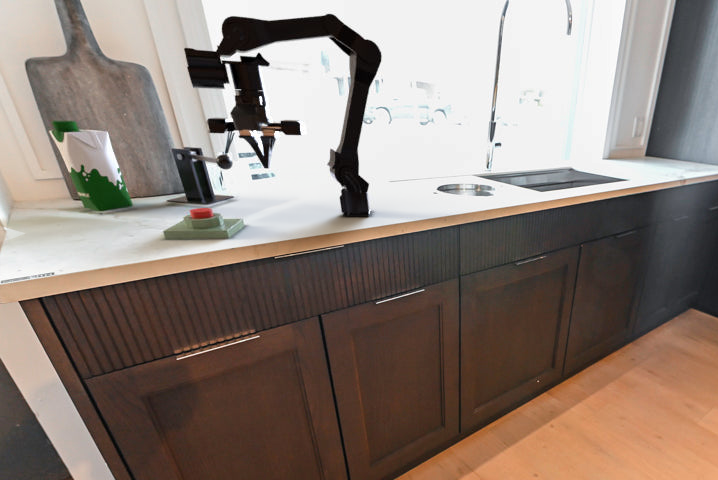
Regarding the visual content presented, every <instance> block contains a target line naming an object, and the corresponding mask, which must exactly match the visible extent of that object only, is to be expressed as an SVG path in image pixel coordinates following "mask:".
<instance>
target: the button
mask: <svg viewBox="0 0 718 480" xmlns="http://www.w3.org/2000/svg"><path fill="white" fill-rule="evenodd" d="M213 213H214V212H213V209H212V208H210V207H198V208H193V209H190V210H189V215H191V217H192V219H205V218H211V217H214V215H213Z"/></svg>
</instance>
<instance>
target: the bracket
mask: <svg viewBox="0 0 718 480" xmlns="http://www.w3.org/2000/svg"><path fill="white" fill-rule="evenodd" d="M190 150H191V151H196V155H200V156H204V153H203V149H202V147H191V146H183V148H175V147H174V148H171V153H172V156H173V160H174V163H175V166H176V170H177V172H178V175H179V178H180V182H181V185H182V188H183V192H184V195H183V196H179V197H174V198H170V199H166V202H167V203H179V204H180V203H181V204H191V205H192V204H193V205H207V206H208V205H213V204H216V203H219V202H223V201H227V200H230V199H233V198H235V196H234V195H223V194H215V192H214V188H213V186H212V185H213V184H212V182H211V178H210V175H209V170H208V166H207V163H206V161H202V160H198V161H194V162H193V160H192V156H191V153H190Z"/></svg>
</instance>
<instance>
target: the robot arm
mask: <svg viewBox="0 0 718 480" xmlns="http://www.w3.org/2000/svg"><path fill="white" fill-rule="evenodd" d="M221 35H222V38H221V41H220V43H219V45H216V50H215V51H214V50H204V49H203V50H202V49H197V48H196V49H195V48H192V47H184V48H183V50H184V54H185V59H186V64H187V66H186V68H187V72H188V76H189V79H190V83H191V86H192V88H193V89H211V90H212V89H213V90H226V87H225V85H230V84H231V83H230V79H229V75H228V71H227V66H226V65H229V69H230V73H231V78H232V83H233V87H234V92H235V95H234V101H235V105H234V106H233V107H232V109H231V111H230V113H229V114H230V117H210V118H208V119H207V120H206V123H205V124H206V128H207V132H208V134H225V133H226V132H233V133H234V132H235V131H238V134H239V135H238V138H239V139H243V140H245V141H246V142H247V144H248V145H249V146H250V147H251V148H252V150H253V152H254V153H255V155H256V156H257V158H258V160H259V162H260V164H261V165H262V167H263V169H267V170H268V169H270V167H271V162H272V156H273V155H272V153H273V149H274V147H275V143H276V140H277V139H280V138H281V134H280V133H283V134H284V135H285V136H304V135H307V129H306V125H305V122H303V120H301V119H282V120H280V122H273V118H272V117H273V116H271V112H270V108H269V104H268V103H269V98H268V96H267V93H266V88H265V83H264V78H263V73H262V72H263V71H262V67H263V68H264V67H265V68H269V67H270V66H271V63H270V62H269V61H267V59H266V58H264V57H263V55H262V53H261V52H257V53H256V56H248V55H239V60H226V59H228V58H229V59H230V58H231V57H232V56H234V55H235V54H236V53H239V54H247V53H250V52H253V51H256V50H259V49H261V48H266V47H268V46H269V45H273V44H277V43H286V42H294V41H304V40H315V39H323V38H328V39H329V40H330V41H332V42H333V44H335V46H337V47H338V48H339V50H341V51H342V52H343V53H344V54H345V55H347V56H348V57H349V63H348V64H349V65H348V66H349V68H348V69H349V77H350V85H349V90H348V96H347V101H346V107H345V112H344V118H343V124H342V130H341V135H340V140H339V144H338V146H337V148H336V150H335V149H333V148H330V149H329V160H328V162H327V166H328V167H329V173H330V176H331V177H332V178H333V180H335V181H336V182H337V183H338V184H339V185H340V186H341V190H340V195H339V203H340V204H339V205H340V211H341V213H342V217H370V215H371V212H372V209H371V208H370V200H369V187H370V183H369V182H368V181H367V180H365V179H364V177H362V176H361V175H360V174H359V173H360V160H359V144H360V138H361V133H362V129H363V123H364V117H365V113H366V107H367V102H368V96H369V91H370V87H371V85H372V84H373V81H374V80H375V78H376V76H377V73H378V71H379V68H380V66H381V64H382V57H383V56H382V51H381V50H380V47H379V46H378V45H377V43H376V42H375V41H373V40H371V39H365V38H364V37H363V36H362V35H361V34H360V33H359V32H358V31H355V30H354V29H353V28H351V27H350V26H349V25H347V24H345V23H344V22H343V21H342V20H340V19H339V17H337V16H336V15H335V14H333V13H326V14H324V15H317V16H316V15H315V16H314V15H313V16H307V17H306V16H305V17H304V16H303V17H293V18H284V19H283V18H282V19H272V20H269V19H259V18H254V17H247V16H239V15H238V16H236V15H230V16H227V17H226V18H225V19H224V20H223V22H222V23H221ZM221 58H225V60H224V59H221ZM257 132H261V133H262V135H261V133H257ZM279 132H280V133H279Z"/></svg>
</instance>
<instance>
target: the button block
mask: <svg viewBox="0 0 718 480" xmlns="http://www.w3.org/2000/svg"><path fill="white" fill-rule="evenodd" d="M213 215H214V217H211V218H205V219H192V217H191V214H187V215H185V216H183V217H182V219H183V220H181V221H179V222H177V223H175V224H173V225H172V226H170V227H168V228H166V229H165V230H163V231H162V234H163V236H164V239H165V240H195V239H196V240H198V239H199V240H200V239H201V240H205V239H206V240H208V239H211V240H212V239H230V238H231V237H233V236H234V235H235V234H236V233H238V232H239V231H240V230H242V229H243V228H244V227H245V225H246V224H245V222H244V218H223V217H224V216H223V215H222V214H221V213H218V212H213Z"/></svg>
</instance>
